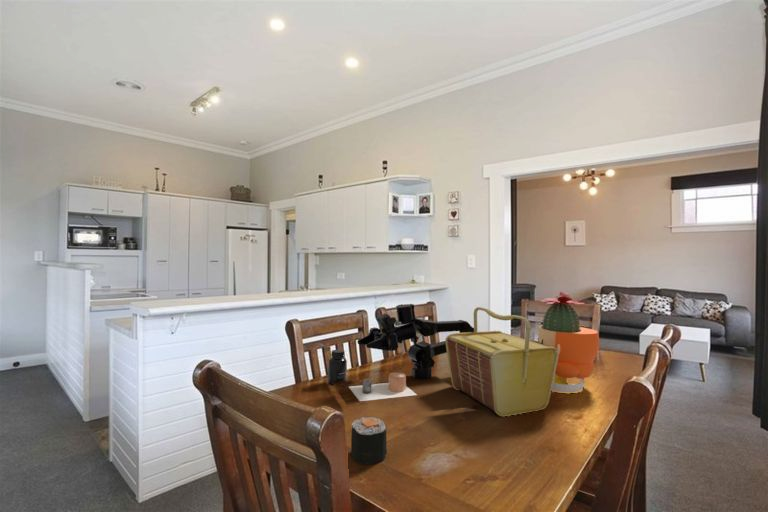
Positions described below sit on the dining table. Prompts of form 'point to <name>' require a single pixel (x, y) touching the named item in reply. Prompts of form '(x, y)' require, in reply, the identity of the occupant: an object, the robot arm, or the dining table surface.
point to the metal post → (366, 386)
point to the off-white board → (379, 392)
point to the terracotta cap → (397, 382)
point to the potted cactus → (568, 342)
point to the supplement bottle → (337, 367)
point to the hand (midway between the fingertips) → (361, 344)
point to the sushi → (368, 440)
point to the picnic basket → (502, 368)
